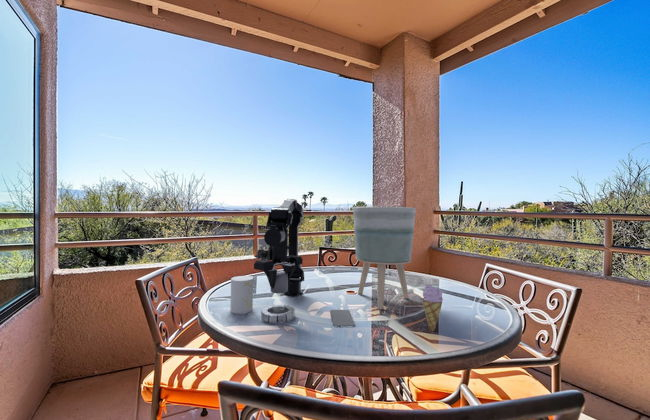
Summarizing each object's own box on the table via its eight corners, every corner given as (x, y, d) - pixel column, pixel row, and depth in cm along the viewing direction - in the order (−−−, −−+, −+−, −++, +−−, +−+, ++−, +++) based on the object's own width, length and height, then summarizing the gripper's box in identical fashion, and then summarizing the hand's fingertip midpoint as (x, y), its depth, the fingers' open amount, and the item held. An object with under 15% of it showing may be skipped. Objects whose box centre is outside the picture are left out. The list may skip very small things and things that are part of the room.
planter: (418, 297, 130) (420, 208, 130) (406, 315, 106) (408, 207, 106) (363, 288, 142) (364, 207, 142) (341, 303, 118) (343, 206, 119)
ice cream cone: (418, 326, 96) (418, 281, 96) (435, 325, 97) (436, 281, 97) (426, 334, 90) (427, 286, 90) (445, 334, 90) (446, 286, 90)
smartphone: (333, 325, 94) (329, 309, 109) (333, 328, 94) (329, 312, 109) (355, 325, 95) (349, 309, 110) (355, 328, 95) (349, 312, 110)
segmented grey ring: (279, 309, 110) (279, 302, 110) (300, 316, 103) (301, 309, 103) (254, 317, 101) (255, 310, 101) (276, 326, 94) (277, 318, 94)
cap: (279, 287, 106) (279, 270, 106) (291, 290, 103) (291, 272, 103) (267, 291, 102) (267, 272, 102) (278, 294, 98) (278, 275, 98)
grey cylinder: (246, 314, 104) (247, 281, 104) (226, 312, 106) (226, 280, 106) (256, 307, 112) (256, 276, 112) (237, 305, 114) (237, 275, 114)
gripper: (283, 239, 115) (282, 278, 115) (244, 243, 100) (243, 287, 100) (303, 241, 108) (303, 283, 108) (265, 245, 93) (264, 293, 93)
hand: (279, 286), depth 102 cm, fingers closed on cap, 6 cm apart
